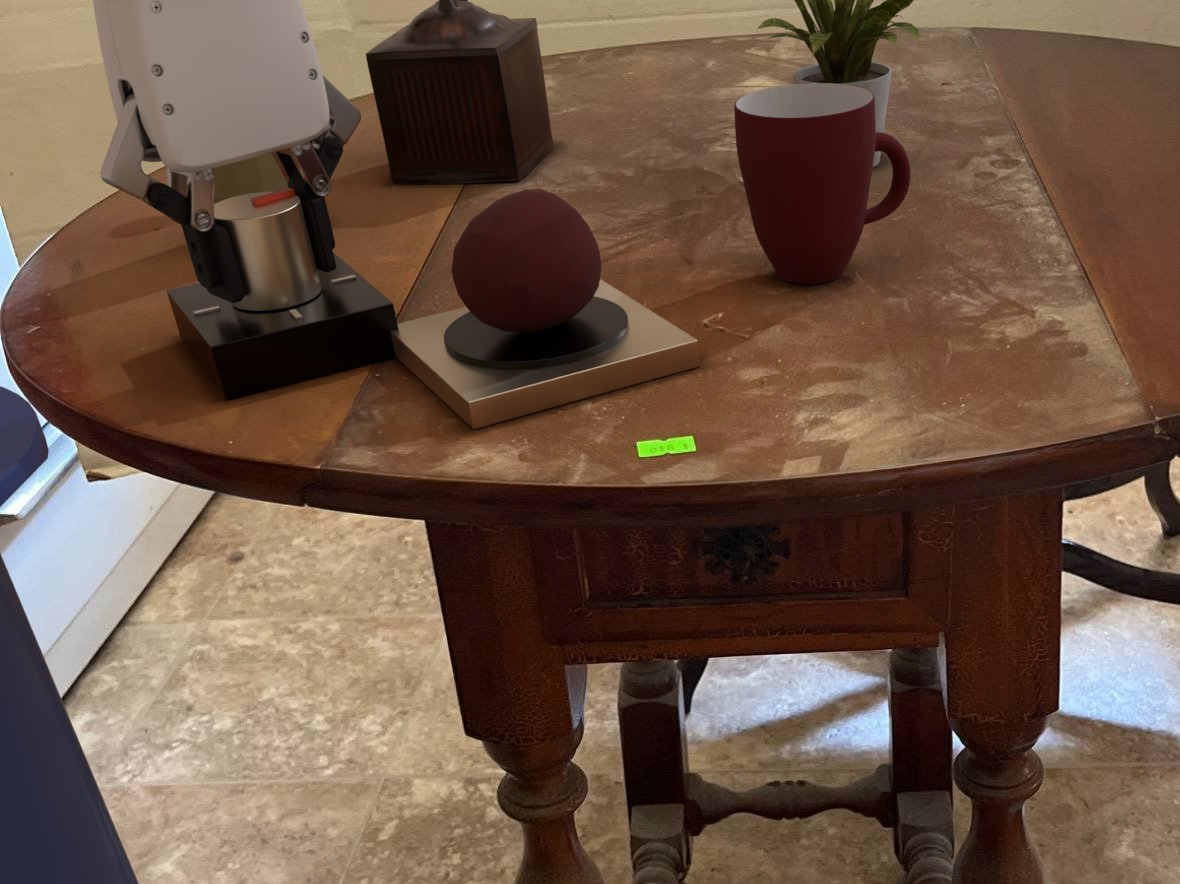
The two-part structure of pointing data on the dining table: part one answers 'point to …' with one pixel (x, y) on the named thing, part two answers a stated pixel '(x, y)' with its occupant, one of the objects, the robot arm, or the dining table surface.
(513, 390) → the hotplate
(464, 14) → the grooved wooden box
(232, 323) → the control panel
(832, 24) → the house plant
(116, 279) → the dining table surface
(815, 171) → the mug
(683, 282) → the dining table surface
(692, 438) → the dining table surface
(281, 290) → the dial
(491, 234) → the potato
